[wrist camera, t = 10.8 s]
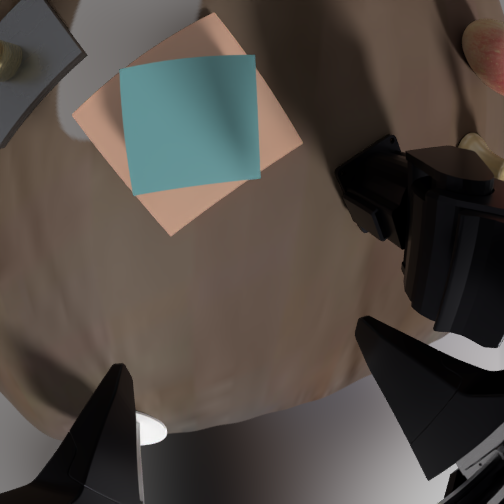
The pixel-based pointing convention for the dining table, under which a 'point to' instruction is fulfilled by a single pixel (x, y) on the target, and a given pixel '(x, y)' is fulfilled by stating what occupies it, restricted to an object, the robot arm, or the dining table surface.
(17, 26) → the post base
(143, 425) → the white stand
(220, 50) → the tile
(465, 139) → the hand bell
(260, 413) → the dining table surface
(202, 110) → the teal cube
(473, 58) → the apple
